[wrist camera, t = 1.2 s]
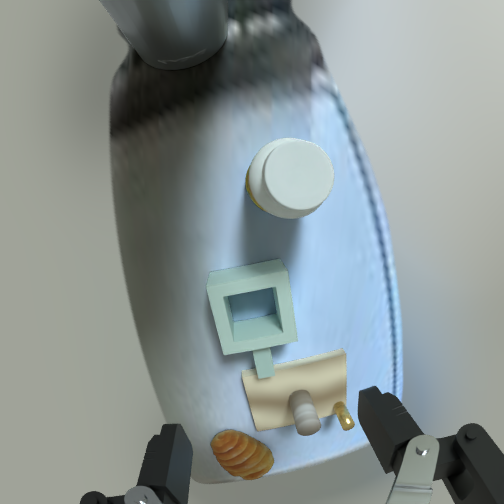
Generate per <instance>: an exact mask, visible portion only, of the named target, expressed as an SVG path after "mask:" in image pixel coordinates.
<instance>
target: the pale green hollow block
mask: <svg viewBox="0 0 504 504" xmlns="http://www.w3.org/2000/svg"><path fill="white" fill-rule="evenodd" d="M271 287H272V288H273V294H274V300H275V306H276V312H277V314H272V315H267V316H262V317H257V318H252V319H247V320H241V321H236V322H234V321H233V317H232V312H231V308H230V304H229V299H228V296H229V295H235V294H240V293H245V292H251V291H256V290H261V289H266V288H271ZM206 288H207V293H208V297H209V301H210V305H211V309H212V312H213V316H214V320H215V324H216V328H217V332H218V335H219V339H220V343H221V346H222V350H223V354H224V355H228V354H234V353H240V352H246V351H251V350H252V352H253V356H254V361H255V365H256V369H257V374H258V378H259V379H261V378H266V377H271V376H275V371H274V366H273V360H272V355H271V350H270V347H272V346H277V345H282V344H287V343H291V342H296V341H298V338H297V331H296V323H295V316H294V309H293V302H292V295H291V289H290V282H289V275H288V270H287V269H286V267H285V266H284V264H283V263H282V261H281V260H280V259H275V260H270V261H265V262H260V263H255V264H250V265H244V266H239V267H234V268H229V269H223V270H218V271H213V272H210V274H209V277H208V281H207V284H206Z"/></svg>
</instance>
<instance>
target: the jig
mask: <svg viewBox="0 0 504 504" xmlns="http://www.w3.org/2000/svg"><path fill="white" fill-rule="evenodd" d="M273 366H274V371H275V376H271V377H266V378H261V379H259V378H258V374H257V369H256V368H254V369H248V370H243V371H242V379H243V383H244V386H245V390H246V394H247V397H248V401H249V404H250V408H251V412H252V415H253V419H254V422H255V426H256V429H257V431H262V430H268V429H274V428H279V427H284V426H289V425H294V424H295V425H296V429H297V432H298V434H300V435H302V436H308V435H312V434H314V433H316V432H318V431H319V430H320V428H321V423H320V420H319V418H322V417H326V416H330V415H333V414H336V413H335V410H334V408H333V406H334V404H335V403H337V402H339V401H343V402H344V404H345V406H346V353H345V351H344V350H343V348H342V349H338V350H334V351H331V352H327V353H323V354H319V355H315V356H311V357H307V358H303V359H298V360H294V361H289V362H285V363H280V364H275V365H273Z"/></svg>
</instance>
